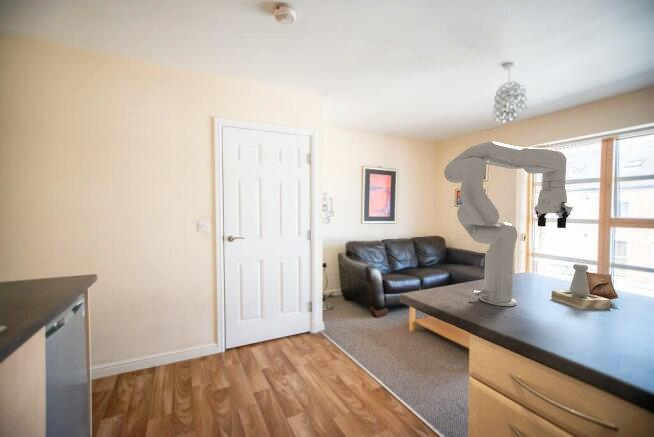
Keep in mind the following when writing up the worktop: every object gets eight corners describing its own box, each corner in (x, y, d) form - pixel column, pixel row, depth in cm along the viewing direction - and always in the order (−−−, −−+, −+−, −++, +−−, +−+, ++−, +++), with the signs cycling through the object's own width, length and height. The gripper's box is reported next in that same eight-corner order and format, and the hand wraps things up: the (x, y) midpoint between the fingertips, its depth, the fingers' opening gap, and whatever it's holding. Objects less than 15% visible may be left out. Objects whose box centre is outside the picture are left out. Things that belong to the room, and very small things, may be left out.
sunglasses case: (620, 297, 105) (601, 285, 107) (603, 307, 109) (585, 296, 111) (610, 273, 118) (594, 263, 120) (595, 283, 123) (580, 273, 125)
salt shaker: (591, 300, 105) (592, 266, 105) (571, 297, 108) (572, 264, 108) (587, 296, 110) (588, 263, 110) (568, 293, 113) (569, 262, 113)
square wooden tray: (580, 309, 103) (580, 300, 103) (551, 298, 115) (551, 290, 115) (609, 308, 104) (610, 299, 104) (578, 298, 116) (578, 290, 116)
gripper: (528, 187, 125) (526, 225, 125) (563, 184, 107) (560, 228, 108) (544, 188, 125) (542, 226, 126) (581, 184, 108) (579, 228, 108)
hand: (551, 227), depth 117 cm, fingers open, 9 cm apart
